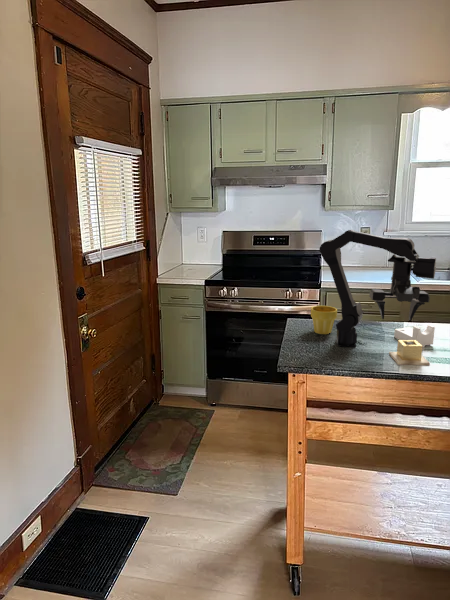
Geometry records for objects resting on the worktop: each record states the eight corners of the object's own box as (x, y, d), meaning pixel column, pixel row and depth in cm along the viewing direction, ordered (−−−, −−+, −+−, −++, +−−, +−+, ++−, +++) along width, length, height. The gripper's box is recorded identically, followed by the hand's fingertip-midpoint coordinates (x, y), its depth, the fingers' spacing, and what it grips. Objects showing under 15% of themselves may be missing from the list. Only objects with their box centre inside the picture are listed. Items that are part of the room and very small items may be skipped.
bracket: (432, 346, 165) (434, 326, 163) (416, 348, 163) (418, 328, 161) (409, 336, 177) (411, 317, 175) (394, 337, 175) (395, 319, 173)
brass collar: (402, 360, 148) (403, 345, 147) (396, 353, 154) (397, 340, 153) (421, 360, 148) (422, 346, 147) (414, 354, 154) (415, 340, 153)
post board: (398, 364, 147) (399, 347, 145) (389, 354, 156) (390, 338, 155) (429, 365, 146) (431, 348, 145) (418, 354, 156) (420, 338, 154)
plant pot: (338, 335, 177) (340, 311, 174) (312, 335, 177) (313, 311, 175) (332, 328, 187) (334, 305, 185) (308, 328, 187) (308, 305, 185)
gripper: (378, 279, 146) (374, 325, 149) (438, 281, 144) (432, 327, 148) (371, 273, 156) (367, 316, 160) (426, 274, 155) (421, 318, 158)
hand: (396, 319), depth 156 cm, fingers open, 9 cm apart
